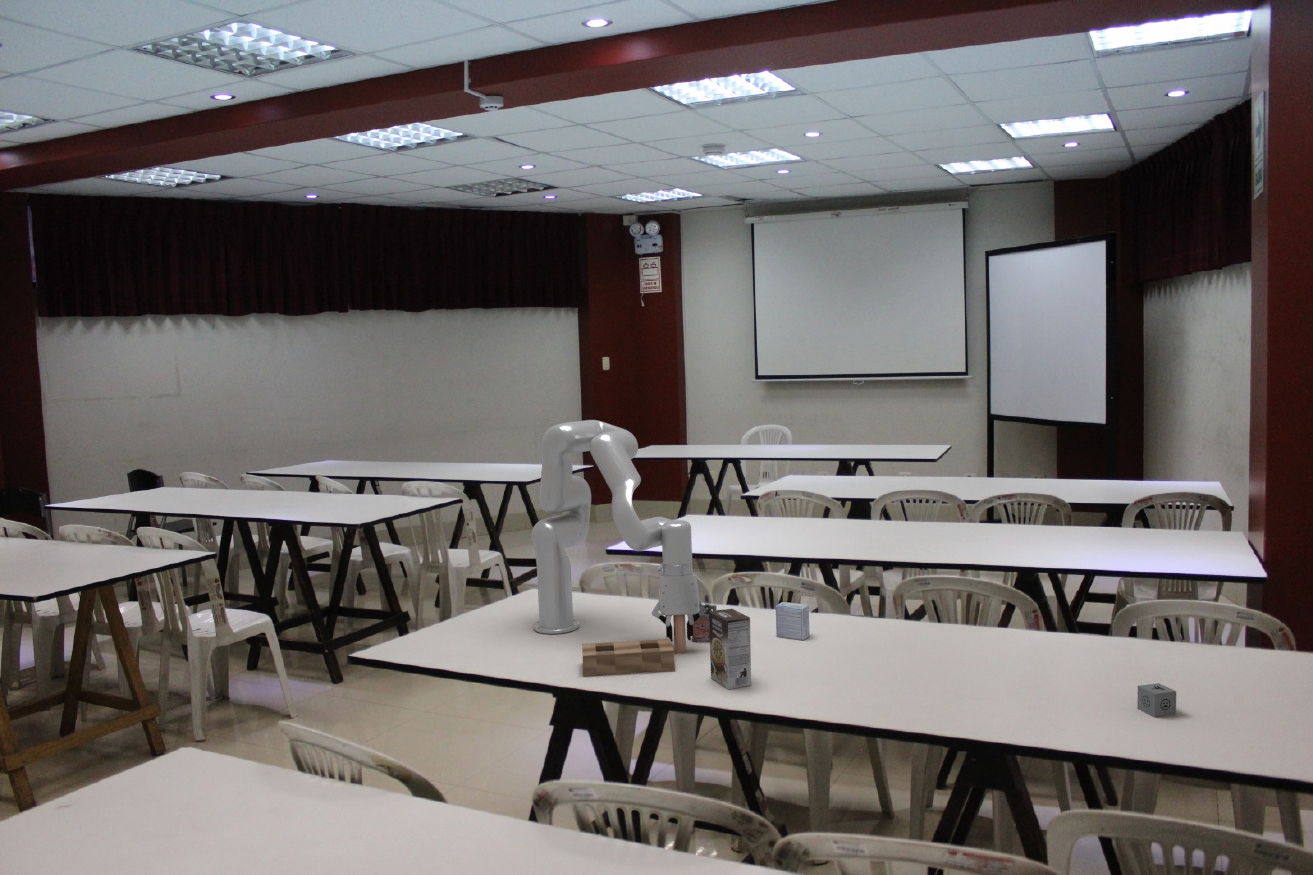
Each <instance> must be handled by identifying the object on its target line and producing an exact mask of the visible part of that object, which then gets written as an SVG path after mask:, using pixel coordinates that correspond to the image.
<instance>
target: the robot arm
mask: <svg viewBox="0 0 1313 875" xmlns="http://www.w3.org/2000/svg"><path fill="white" fill-rule="evenodd" d="M540 445H541V447H540V448H541V449H540V450H541V471H540V487H539V504H540V508H541V509H542V510H543V511H544V512H545V513H547V514H557V515H553V516H549V517H545V518H542V519H540V520H538V521H537V522H536V523H535V525H534V526H533V528H532V531H531V542H532V545H533V549H534V553H535V561H536V563H535V564H536V573H537V576H536V577H537V580H536V581H537V597H538V598H537V600H538V601H537V602H538V618H539V619H538V622H536V623H534V625H533V630H534V631H535V632H536V633H540V634H547V635H553V634H555V635H556V634H557V635H558V634H566V633H570V632H573V631H575V630H577V629H578V628H579V627H580V623H579V621H578V620H577V619H574V610H573V609H574V608H573V606H574V605H573V604H574V603H573V585H572V583H573V581H572V565H571V561H570V559H569V558H570V557H569V556H568V554H567V553H566V550H565V549H568V548H571V547H575V546H578V545H581V544H582V543H583V542H585V541H586V539H587V537H588V534H589V530H590V518H591V506H592V492H591V488H590V485H589V483H588V481H586V480H585V479H584V478H583V477H581V476H579V475H573V468H574V467H573V462H572V457H571V456H570V455H571V454H575V453H576V454H577V453H583V452H590V455H591V457H592V459H593V460H594V462H595V465H596V466H597V468H598V469H599V472H600V473H601V475H602V477H603V478H604V480H605V482H606V484H607V487H608V489H610V492H611V494H612V495H611V496H612V497H611V498H612V499H611V512H612V519H613V522H614V525H615V527H616V529H617V531H618V532H619V534H620V536H621V538H622V540H623V541H624V543H625V544H626V545H627V546H628V547H629V548H630V549H631V550H633V551H635V552H643V551H646V550H650V549H653V548H657V547H660V546H662V548H661V549H662V562H661V564H660V565H657V566H656V570H657V572H661V574H660V576H659V577H660V578H659V586H658V601H657V603H656V604H655V606H654V608H653V609H652V611H651V615H652V616H653V617H655V619H658V620H660V621H661V623H663V624H664V625H665V633H666V634H665V636H666V639H670V640H671V643H672V642H674V632H673V626H672V623H671V621H672V618H673V615H685V616H687V622H685V626H686V638H687V640H688V641H692V636H693V624H694V623H695V621H696V620H697V619H698V618H699V617H700V616H702V615H703V614H704V613H706V609H705V608H704V606H703V605H704V604H702V602H701V601H700V597H699V596H700V595H699V593H700V592H699V584H698V579H697V575H696V573H694V572H693V547H692V546H693V545H692V544H693V543H692V542H693V541H692V526H691V524H690V522H688V521H686V520H682V519H680V520H679V519H678V520H677V519H675V520H673V519H670V518H666V517H664V516H653V517H650V518H645V519H642V520H641V519H640V518H639V516H638V514H637V512H636V510H635V508H634V505H633V494H634V491H635V490H636V489H637V487H639V486H640V484H641V481H642V479H641V475H640V474H639V472H638V471H637V468H636V467H635V465H634V464H633V461H632V460H633V459H634V457H636V455H637V453H638V451H639V443H638V441H637V438H636V436H634V434H633V433H632V432H630V431H629V430H627V429H625V428H622V427H620V426H619V427H618V426H617V425H616V426H615V425H613V424H610V423H607V422H605V421H600V420H596V419H586V420H580V421H579V420H577V421H568V422H562V423H557V424H555V425H553V426H550V427H549V428H548V429H547V430H546V431H545V432H544V434H543V435H542V439H541V444H540ZM560 513H562V514H560ZM692 614H693V615H692Z"/></svg>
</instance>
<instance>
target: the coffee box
mask: <svg viewBox="0 0 1313 875" xmlns="http://www.w3.org/2000/svg"><path fill="white" fill-rule="evenodd" d="M709 630H710V643H709V655H710V657H709V658H710V678H711V679H712V680H713V681H715V682H716V683H718V684H720V685H721V686H722V687H724V688H725V689H727V690H732V689H734V690H735V689H738V688H745V687H749V686H752V663H751V662H752V661H751V660H752V659H751V657H752V654H751V617H750V616H748V615H746V614H743V613H742V612H740V611H737V610H736V609H734V608H727V609H726V608H725V609H716V610H715V611H713V610H712V611H710V612H709Z"/></svg>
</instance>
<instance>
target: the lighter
mask: <svg viewBox="0 0 1313 875" xmlns="http://www.w3.org/2000/svg"><path fill="white" fill-rule="evenodd" d="M702 605H703V606H704V608H705V609H706V613H704V614H703V615H702V616H700V617H699V618H698V619H697V620H696V621H695V623H694V624H693V636H691V642H692V643H699V644H700V643H705V644H706V643H709V644H710V630H709V612H710V611H715V610H718V609H717V604H710V603H709V602H706V603H704V604H702ZM692 615H693V614H692Z"/></svg>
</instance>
